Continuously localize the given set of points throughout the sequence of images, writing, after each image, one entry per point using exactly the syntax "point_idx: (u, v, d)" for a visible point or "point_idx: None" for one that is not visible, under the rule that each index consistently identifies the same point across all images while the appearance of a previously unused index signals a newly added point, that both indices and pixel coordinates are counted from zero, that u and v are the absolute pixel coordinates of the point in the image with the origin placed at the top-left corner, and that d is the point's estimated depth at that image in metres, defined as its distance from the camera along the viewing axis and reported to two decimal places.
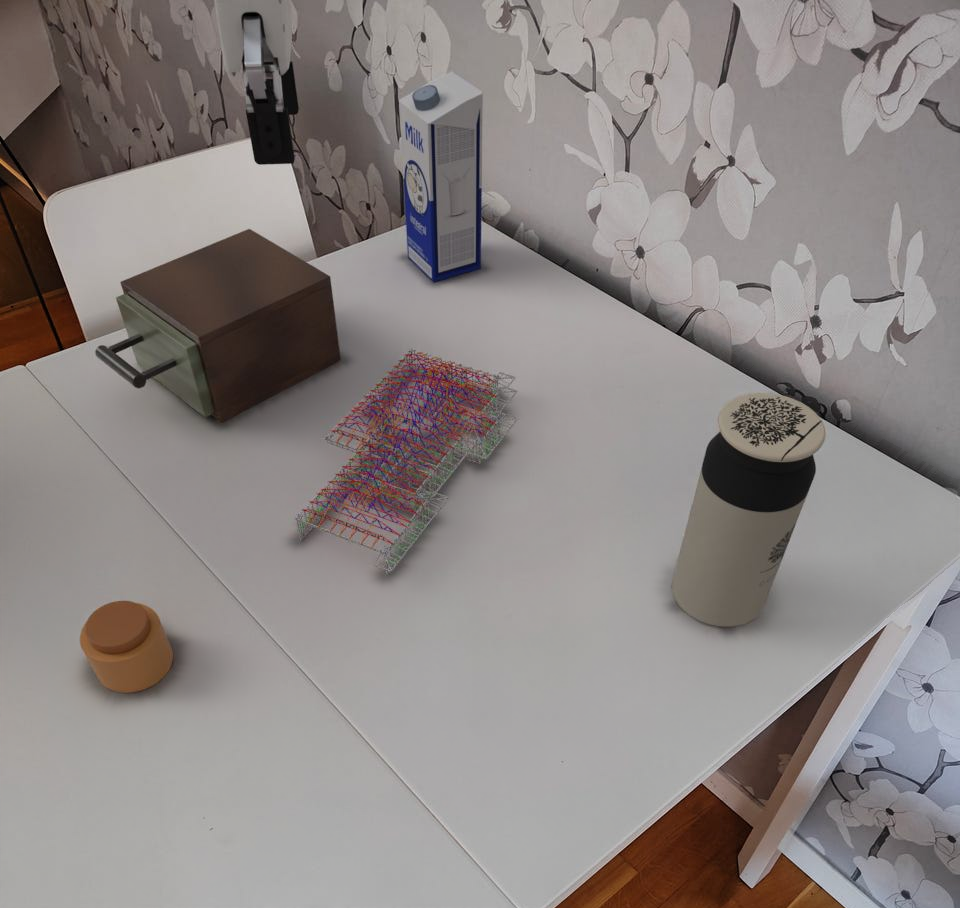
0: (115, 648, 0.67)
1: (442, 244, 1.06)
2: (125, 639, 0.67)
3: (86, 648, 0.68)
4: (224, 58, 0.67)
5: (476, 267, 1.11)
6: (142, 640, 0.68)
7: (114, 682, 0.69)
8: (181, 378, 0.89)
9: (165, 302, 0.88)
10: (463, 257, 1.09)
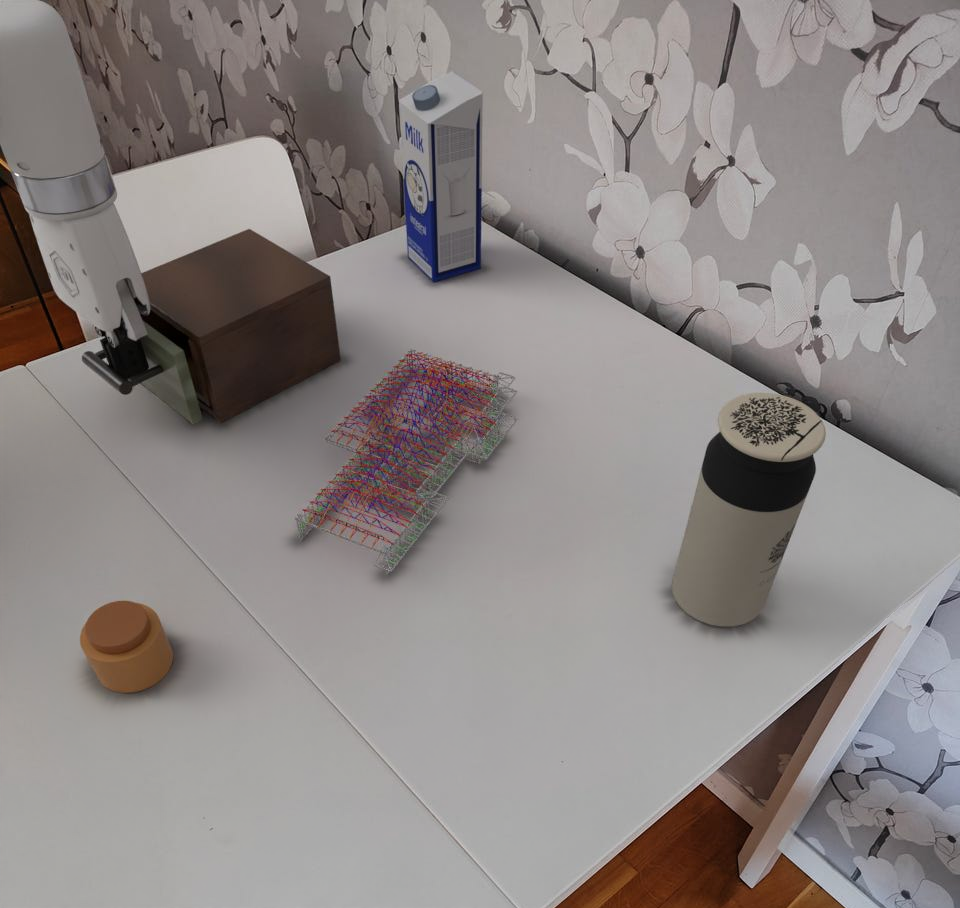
0: (115, 648, 0.67)
1: (442, 244, 1.06)
2: (125, 639, 0.67)
3: (86, 648, 0.68)
4: (105, 321, 0.79)
5: (476, 267, 1.11)
6: (142, 640, 0.68)
7: (114, 682, 0.69)
8: (168, 384, 0.89)
9: (165, 302, 0.88)
10: (463, 257, 1.09)
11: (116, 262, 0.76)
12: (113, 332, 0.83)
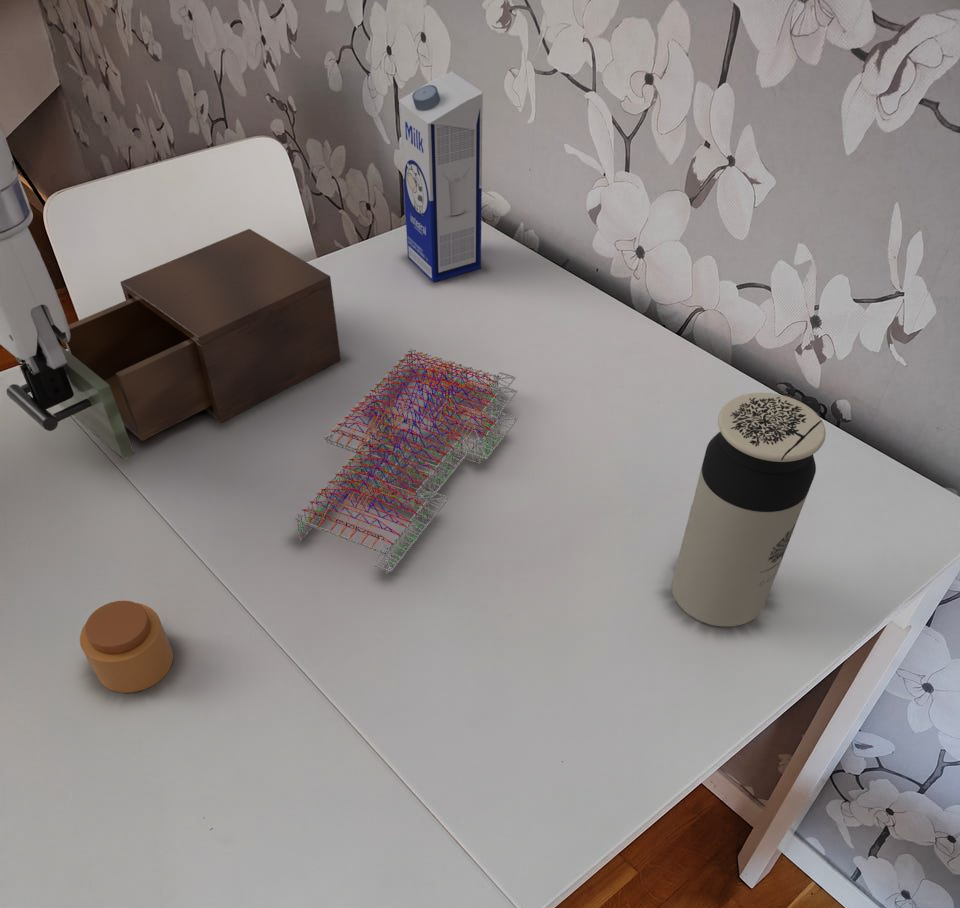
0: (115, 648, 0.67)
1: (442, 244, 1.06)
2: (125, 639, 0.67)
3: (86, 648, 0.68)
4: (20, 349, 0.75)
5: (476, 267, 1.11)
6: (142, 640, 0.68)
7: (114, 682, 0.69)
8: (97, 419, 0.85)
9: (165, 302, 0.88)
10: (463, 257, 1.09)
11: (30, 288, 0.72)
12: (32, 359, 0.79)
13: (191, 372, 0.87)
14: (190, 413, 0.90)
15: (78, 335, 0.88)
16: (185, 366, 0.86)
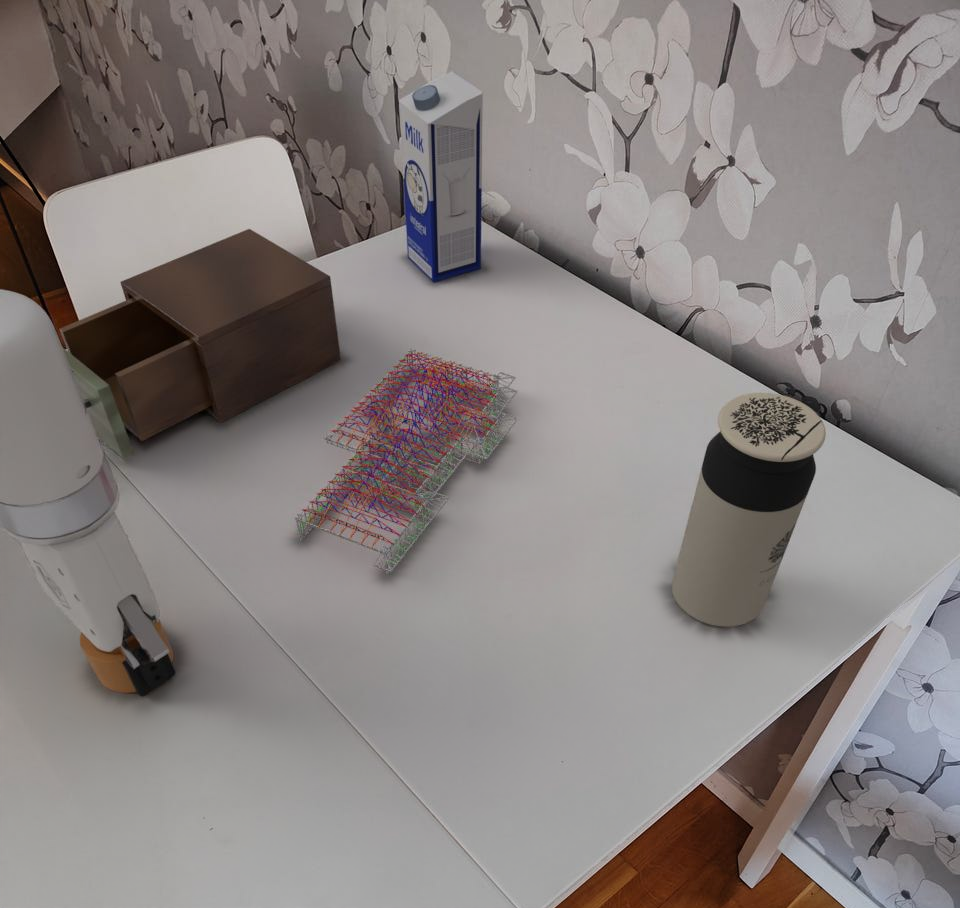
0: None
1: (442, 244, 1.06)
2: (125, 639, 0.67)
3: (86, 648, 0.68)
4: (103, 643, 0.62)
5: (476, 267, 1.11)
6: None
7: (114, 682, 0.69)
8: (97, 419, 0.85)
9: (165, 302, 0.88)
10: (463, 257, 1.09)
11: (117, 582, 0.60)
12: (126, 649, 0.65)
13: (191, 372, 0.87)
14: (190, 413, 0.90)
15: (78, 336, 0.88)
16: (185, 366, 0.86)
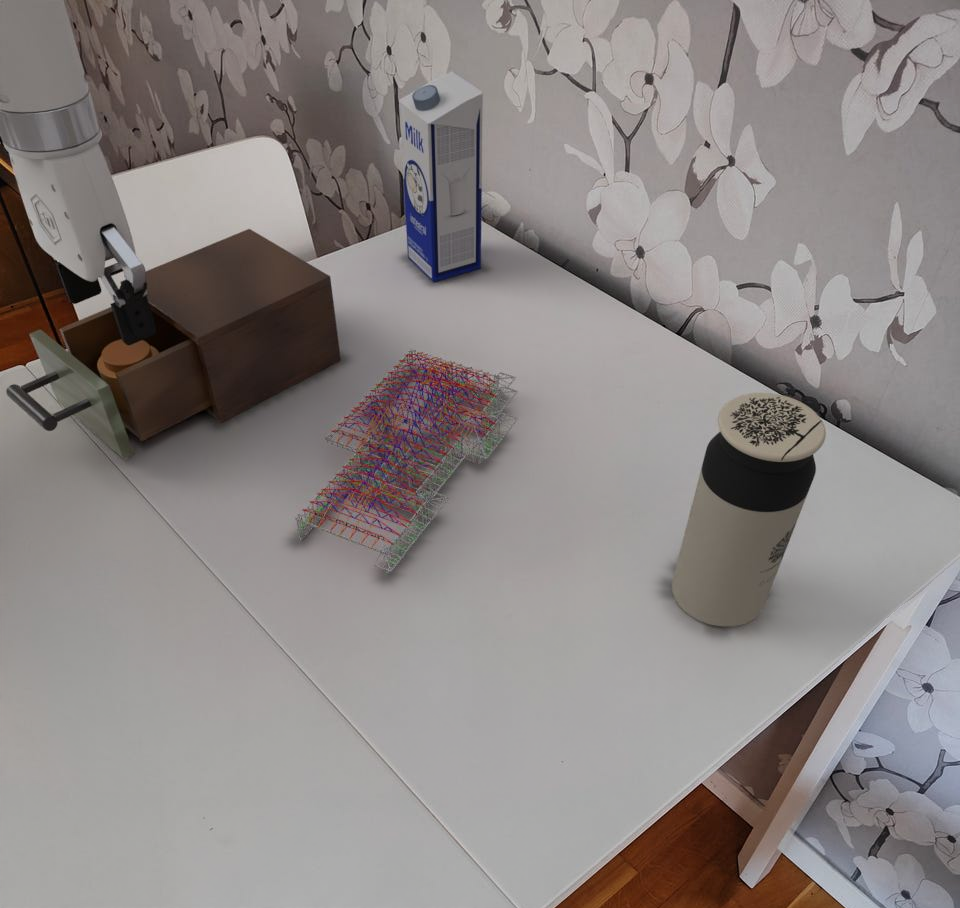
0: (124, 367, 0.86)
1: (442, 244, 1.06)
2: (132, 360, 0.86)
3: (102, 370, 0.87)
4: (88, 269, 0.75)
5: (476, 267, 1.11)
6: None
7: (124, 401, 0.88)
8: (97, 419, 0.85)
9: (165, 302, 0.88)
10: (463, 257, 1.09)
11: (100, 206, 0.73)
12: (111, 282, 0.77)
13: (191, 372, 0.87)
14: (189, 413, 0.90)
15: (78, 336, 0.88)
16: (185, 366, 0.86)
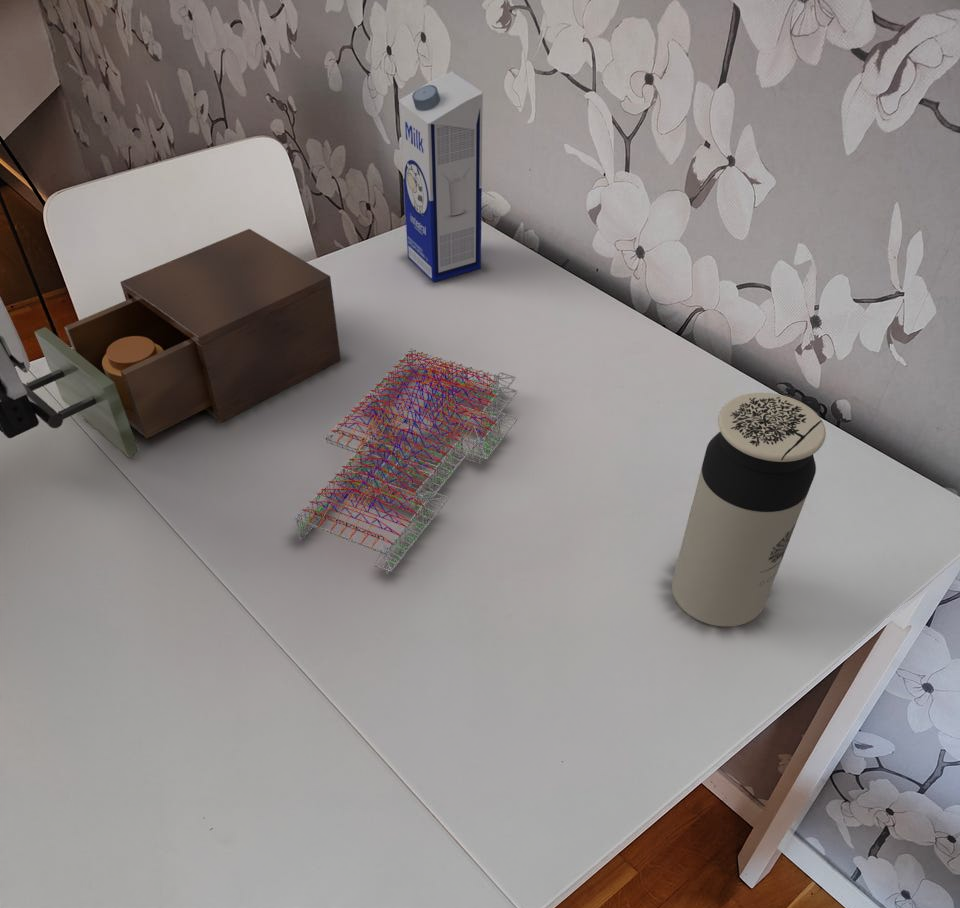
0: (129, 365, 0.86)
1: (442, 244, 1.06)
2: (137, 358, 0.86)
3: (107, 368, 0.87)
4: None
5: (476, 267, 1.11)
6: None
7: (129, 399, 0.88)
8: (102, 416, 0.85)
9: (165, 302, 0.88)
10: (463, 257, 1.09)
11: None
12: None
13: (195, 370, 0.87)
14: (194, 411, 0.90)
15: (82, 333, 0.88)
16: (189, 364, 0.87)
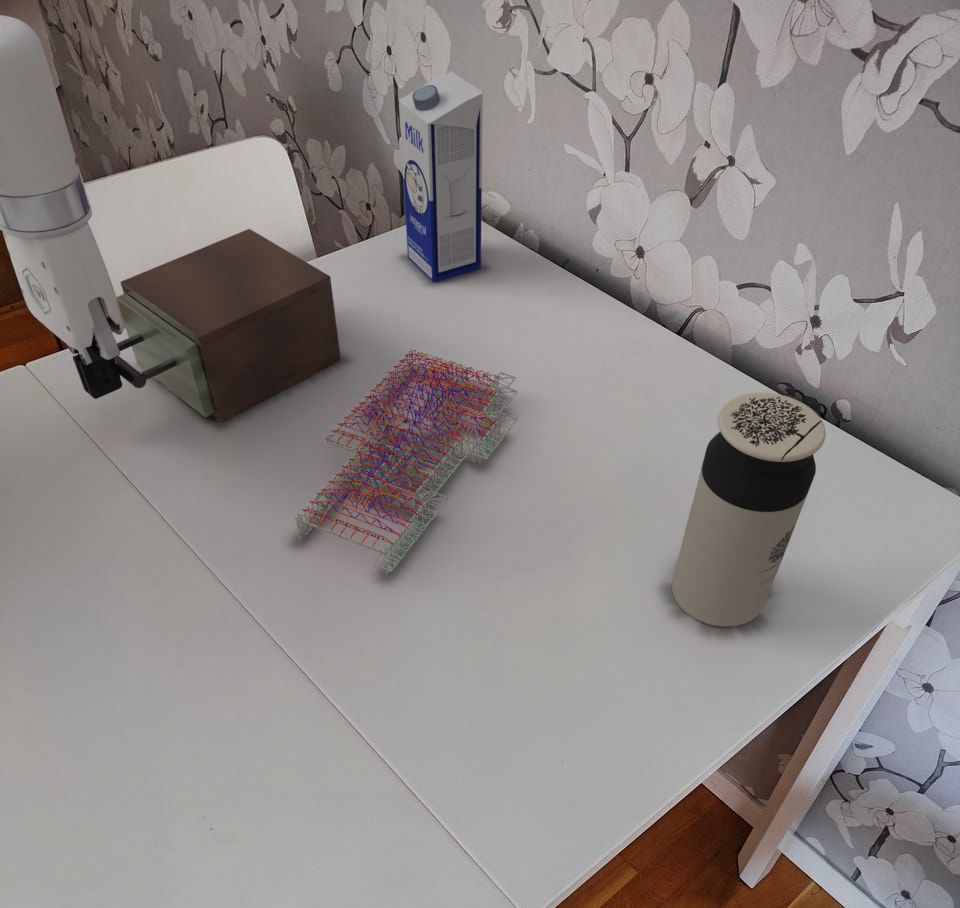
0: None
1: (442, 244, 1.06)
2: None
3: None
4: (76, 339, 0.78)
5: (476, 267, 1.11)
6: None
7: None
8: (181, 378, 0.89)
9: (165, 302, 0.88)
10: (463, 257, 1.09)
11: (89, 281, 0.75)
12: (85, 350, 0.82)
13: None
14: None
15: None
16: None
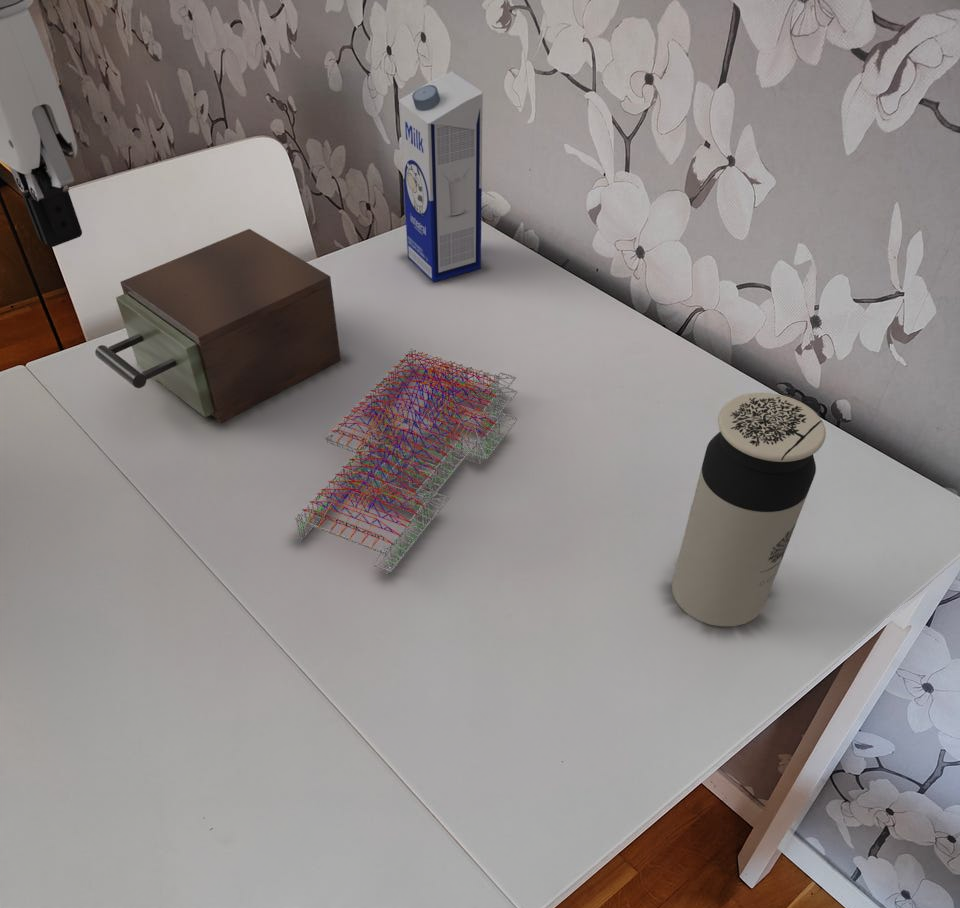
0: None
1: (442, 244, 1.06)
2: None
3: None
4: (21, 157, 0.67)
5: (476, 267, 1.11)
6: None
7: None
8: (181, 378, 0.89)
9: (165, 302, 0.88)
10: (463, 257, 1.09)
11: (31, 82, 0.64)
12: (35, 180, 0.71)
13: None
14: None
15: None
16: None
